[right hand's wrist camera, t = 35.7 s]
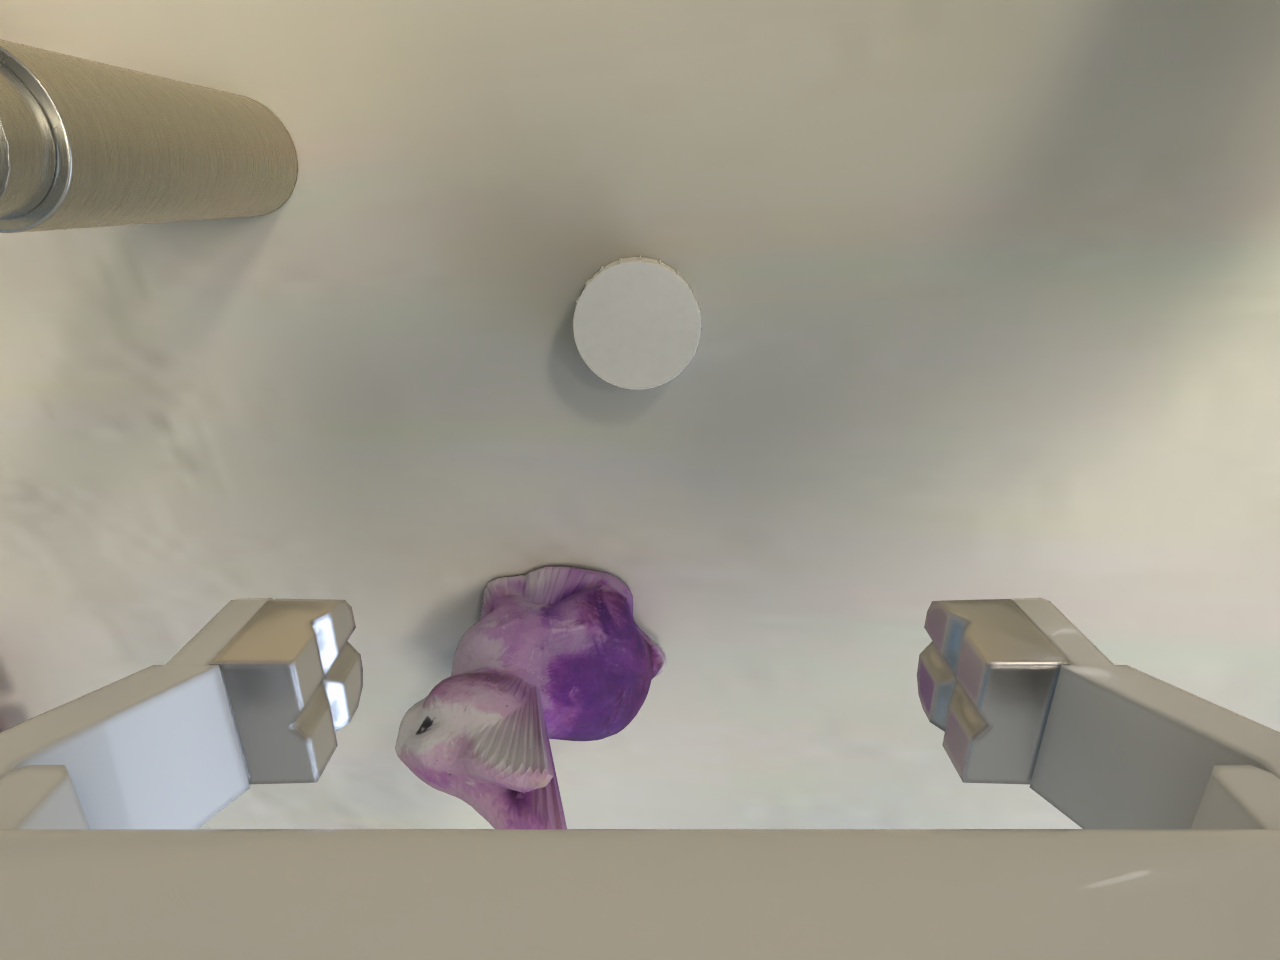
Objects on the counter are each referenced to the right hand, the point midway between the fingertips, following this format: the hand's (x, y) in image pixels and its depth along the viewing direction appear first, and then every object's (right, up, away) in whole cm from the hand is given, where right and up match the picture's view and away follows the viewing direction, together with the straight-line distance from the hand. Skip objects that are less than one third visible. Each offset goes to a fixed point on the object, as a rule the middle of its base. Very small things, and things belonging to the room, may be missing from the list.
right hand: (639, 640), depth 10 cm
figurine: (-5, -6, +31) cm, 32 cm away
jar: (-18, +17, +22) cm, 33 cm away
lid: (0, +9, +23) cm, 25 cm away
